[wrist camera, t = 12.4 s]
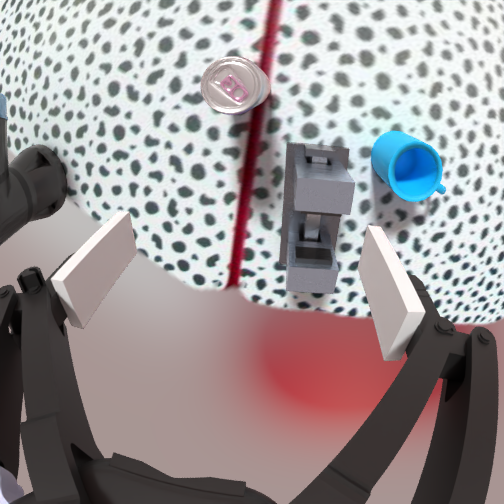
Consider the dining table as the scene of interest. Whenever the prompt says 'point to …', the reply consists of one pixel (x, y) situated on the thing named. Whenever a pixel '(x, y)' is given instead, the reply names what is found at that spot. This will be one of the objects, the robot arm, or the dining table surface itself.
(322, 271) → the stepped metal block
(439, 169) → the mug
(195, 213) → the dining table surface
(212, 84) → the beverage can
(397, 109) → the dining table surface
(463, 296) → the dining table surface
